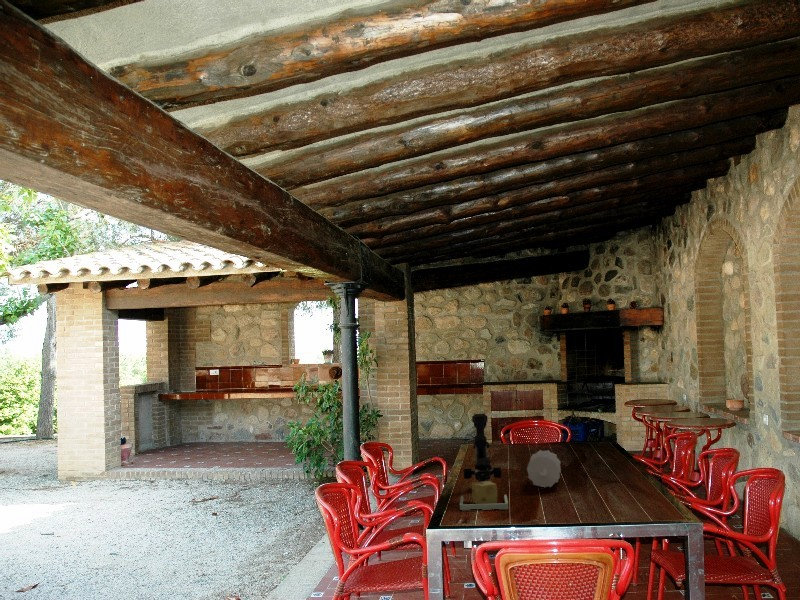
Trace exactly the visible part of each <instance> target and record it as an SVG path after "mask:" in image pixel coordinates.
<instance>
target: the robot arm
mask: <svg viewBox="0 0 800 600" xmlns="http://www.w3.org/2000/svg"><path fill="white" fill-rule="evenodd" d="M471 420H472V423H473V427H474V428H475V430H476V436H475V437H474V441H473V442H472V443H473V450H475V464H474V470H472V467H464V468H463V470H462V471H463V478H464V479H465V480H468V479H472V478H473V477H472V476H474V478H475V481H477V482H484V481H490V480H491V476H493V478H495V479H499V478H502V468H501V467H500V466H495V467H492V466H491V456H488V452H487V451H488V450H489V449H490V446H491V445H490V443H489V441H487V436H486V435H485V429H486V428H487V423H488V415H486V413H473V415H472V416H471Z"/></svg>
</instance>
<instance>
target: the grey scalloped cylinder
mask: <svg viewBox="0 0 800 600" xmlns="http://www.w3.org/2000/svg"><path fill="white" fill-rule="evenodd" d="M561 463H562V462H561V461H560V459H559V458H558V455H557V454H555V453H553V452H552V451H550V449H549V450H541V449H540V450H538V451H537V452H535V453H532V455H531V456H530V458H529V462H528V464H527V467H526V471H527V474H528V476H527V478H528V479H529V480H530V481H532V485H533V486H538V487H544V488H547V487H549V488H552V487H553V485H555V484H556V483H558V482H559V479H561V476H560V475H561V474H560V473H561V472H562V469H561Z"/></svg>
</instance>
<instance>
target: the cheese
mask: <svg viewBox="0 0 800 600" xmlns="http://www.w3.org/2000/svg"><path fill="white" fill-rule="evenodd" d="M471 495H472V496H471V497H472V504H474V503H475V504H496V503H498V487H497V483H494V482H492V481H491V480H489V481H484V482H478V481H474V482H473V481H472V482H471Z"/></svg>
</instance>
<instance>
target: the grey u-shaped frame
mask: <svg viewBox="0 0 800 600" xmlns="http://www.w3.org/2000/svg"><path fill="white" fill-rule="evenodd" d="M507 495H508V494H504V497H503V499H504V503H503V502H502V503H501V502H500V503H499V502H497V503H496V504H474V503H470V504H466V503H463V502H465V501H464V495H461V496H460V501H459V511H460V510H462V511H471V510H470V509H482V510H481V511H488V510H489V511H491V510H492V509H493V510H494V509H499V510H509V501H508V496H507Z"/></svg>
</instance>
